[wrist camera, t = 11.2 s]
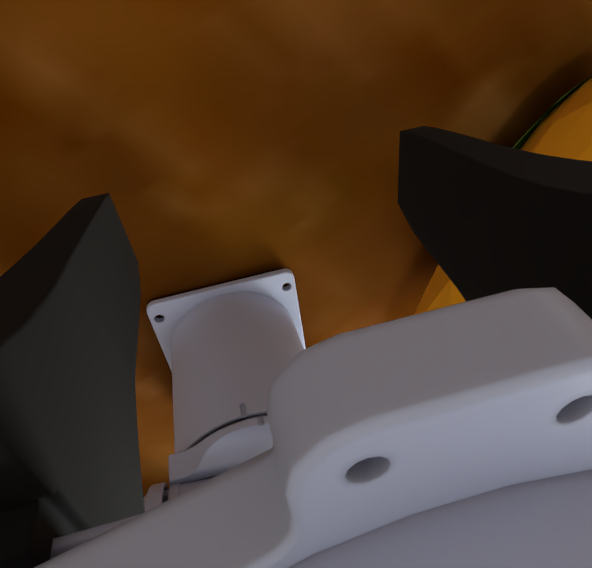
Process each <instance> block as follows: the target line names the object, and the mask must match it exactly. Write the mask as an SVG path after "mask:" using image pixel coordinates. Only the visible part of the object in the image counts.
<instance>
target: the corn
mask: <svg viewBox="0 0 592 568" xmlns="http://www.w3.org/2000/svg"><path fill="white" fill-rule="evenodd" d="M512 148H515V149H520V150H524V151H529V152H533V153H538V154H544V155H549V156H556V157H563V158H570V159H576V160H585V161H592V76H591V77H589V78H587V79H585V80H584V81H582V82H581V83H580V84H578V85H577V86H576V87H574V88H573V89H572V90H570V91H569V92H568V93H566V94H565V95H564V96H563V97H561V98H560V99H559V100H558V101H557V102H556V103H555V104H554V105H553V106H552V107H551V108H550V109H549V110H548V111H547V112H546V113H545V114H544V115H543V116H542V117H541V118H540V119H539V120H538V121H537V122H536V123H535V124H534V125H533V126H532V127H531V128H530V129H529V130H528V131H527V132H526V133H525V134H524V135H523V136H522V137H521V138H520V139H519V140H518V141H517V142H516V144H515V145H514V146H513V147H512ZM462 302H466V301H465V299H464V298H463V296H462V295H461V293H460V292H459V290H458V289H457V288H456V286H455V285H454V284H453V282H452V281H451V280H450V279H449V277H448V276H447V275H446V273H445V272H444V271H443V270H442V268H441V267H440V266H439V264H438V266H437V268H436V270H435V272H434V274H433V276H432V278H431V280H430V282H429V284H428V286H427V288H426V290H425V292H424V294H423V296H422V298H421V300H420V302H419V304H418V307H417V309H416V311H415V313H414V315H415V314H419V313H423V312H427V311H431V310H435V309H439V308H443V307H447V306H451V305H455V304H458V303H462Z"/></svg>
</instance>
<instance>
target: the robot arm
mask: <svg viewBox="0 0 592 568" xmlns="http://www.w3.org/2000/svg"><path fill="white" fill-rule="evenodd" d="M398 204H399V206H400V208H401V210H402V212H403V214H404V216H405V218H406V220H407V221H408V223H409V225H410V227H411V229H412V230H413V232H414V233H415V234H416V236H417V237H418V238H419V240H420V241H421V242H422V244H423V245H424V246H425V248H426V249H427V250H428V252H429V253H430V254H431V255H432V257H433V258H434V259H435V261H436V262H437V263H438V264H439V266H440V267H441V268H442V270H443V271H444V272H445V273H446V275H447V276H448V277H449V279H450V280H451V281H452V282H453V284H454V285H455V286H456V288H457V289H458V290H459V292H460V293H461V295H462V296H463V298H464V299H465V301H466V302H462V303H458V304H455V305H451V306H447V307H443V308H439V309H435V310H431V311H427V312H423V313H419V314H415V315H412V316H408V317H404V318H400V319H396V320H392V321H388V322H384V323H380V324H376V325H372V326H369V327H365V328H361V329H357V330H353V331H349V332H345V333H341V334H337V335H335V336H333V337H331V338H328V339H326V340H324V341H322V342H320V343H317V344H315V345H313V346H311V347H309V348H306V347H305V341H304V335H303V329H302V323H301V317H300V310H299V304H298V298H297V292H296V286H295V280H294V276H293V273H292V271H291V270H289V269H280V270H276V271H272V272H268V273H264V274H259V275H255V276H251V277H247V278H243V279H239V280H235V281H231V282H227V283H223V284H219V285H215V286H210V287H206V288H202V289H198V290H194V291H190V292H186V293H182V294H178V295H174V296H170V297H165V298H161V299H157V300H153V301H151V302H150V303H148V305H147V315H148V317H149V319H150V322H151V324H152V326H153V329H154V331H155V334H156V336H157V338H158V341H159V343H160V345H161V348H162V350H163V352H164V355H165V357H166V360H167V362H168V364H169V367H170V369H171V371H172V388H173V416H174V444H175V454H171V455H169V488H168V485H167V483H166V482H164V483H158V484H153V485H151V486H150V488H149V489H148V492H147V494H146V495H145V497H144V498H143V489H142V478H141V468H140V457H139V443H138V429H137V413H136V393H135V367H136V354H137V341H138V328H139V314H140V299H141V292H140V278H139V268H138V261H137V259H136V256H135V254H134V252H133V249H132V247H131V244H130V242H129V240H128V237H127V235H126V233H125V230H124V228H123V225H122V223H121V221H120V218H119V216H118V214H117V211H116V209H115V206H114V204H113V202H112V199H111V197H110V195H109V193H107V194H102V195H98V196H93V197H88V198H84V199H82V200H80V201H79V202H78V203H77V204H75V205H74V206H73V207H72V208H71V209H70V210H69V211H68V212H67V213H66V214H65V215H64V216H63V217H62V219H61V220H60V221H59V222H58V223H57V224H56V225H55V226H54V227H53V228H52V229H51V230H50V231H49V232H48V233H47V234H46V235H45V236H44V237H43V238H42V239H41V240H40V241H39V242H38V243H37V244H36V245H35V246H34V247H33V248H32V249H31V250H30V251H29V252H27V253H26V254H25V255H24V256H23V257H22V258H21V259H20V260H19V261H18V262H17V263H16V264H15V265H13V266H12V267H11V268H10V269H9V270H8V271H7V272H5V273H4V274H3V275H2V276H1V277H0V568H592V161H585V160H576V159H570V158H563V157H556V156H549V155H544V154H538V153H533V152H529V151H524V150H520V149H515V148H511V147H507V146H503V145H499V144H495V143H491V142H487V141H484V140H480V139H476V138H473V137H469V136H466V135H462V134H458V133H455V132H451V131H447V130H443V129H438V128H433V127H426V126H422V127H417V128H413V129H408V130H403V131H400V144H399V176H398ZM285 283H289V285H288V286H286V287H283V284H285ZM157 315H162V316H163V317H162V318H157V317H155V316H157Z"/></svg>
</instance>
